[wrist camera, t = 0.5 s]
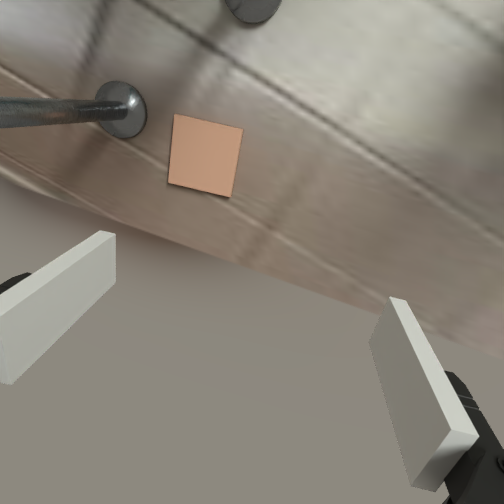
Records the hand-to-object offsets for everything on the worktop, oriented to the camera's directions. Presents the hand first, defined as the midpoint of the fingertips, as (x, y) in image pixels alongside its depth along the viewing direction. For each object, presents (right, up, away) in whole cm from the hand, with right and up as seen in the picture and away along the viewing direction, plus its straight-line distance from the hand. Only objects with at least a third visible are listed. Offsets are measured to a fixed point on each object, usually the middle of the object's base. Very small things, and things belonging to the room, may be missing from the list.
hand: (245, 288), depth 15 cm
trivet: (-5, +13, +23) cm, 27 cm away
